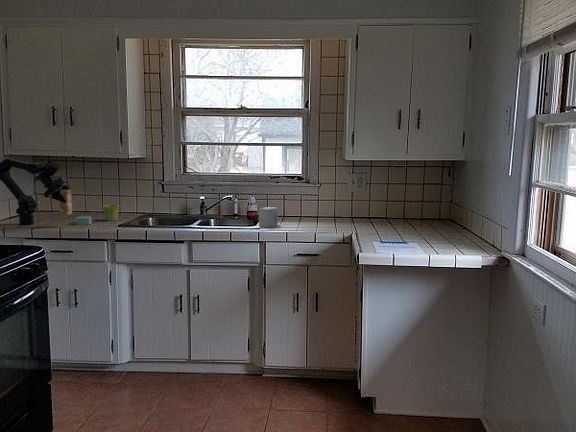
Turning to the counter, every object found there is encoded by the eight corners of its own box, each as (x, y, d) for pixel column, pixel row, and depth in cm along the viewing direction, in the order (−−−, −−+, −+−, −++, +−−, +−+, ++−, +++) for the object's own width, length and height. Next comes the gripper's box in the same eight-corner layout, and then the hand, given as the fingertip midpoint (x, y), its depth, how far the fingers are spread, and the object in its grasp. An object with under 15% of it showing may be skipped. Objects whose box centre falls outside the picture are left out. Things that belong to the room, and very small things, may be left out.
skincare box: (268, 227, 296) (268, 209, 294) (258, 226, 299) (258, 208, 298) (278, 225, 305) (278, 207, 303) (268, 224, 308) (268, 206, 306)
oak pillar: (60, 214, 291) (59, 190, 289) (64, 213, 296) (63, 190, 294) (67, 214, 291) (67, 191, 289) (72, 213, 295) (71, 190, 293)
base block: (76, 225, 299) (75, 218, 298) (79, 223, 306) (78, 216, 305) (89, 225, 300) (88, 218, 299) (91, 223, 307) (91, 216, 306)
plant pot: (109, 222, 310) (108, 207, 309) (100, 220, 316) (99, 206, 314) (123, 220, 317) (122, 205, 316) (113, 218, 323) (113, 204, 322)
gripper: (48, 172, 281) (69, 194, 282) (66, 170, 299) (85, 190, 300) (34, 186, 283) (55, 208, 283) (53, 184, 301) (72, 204, 302)
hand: (68, 202), depth 292 cm, fingers closed on oak pillar, 4 cm apart
